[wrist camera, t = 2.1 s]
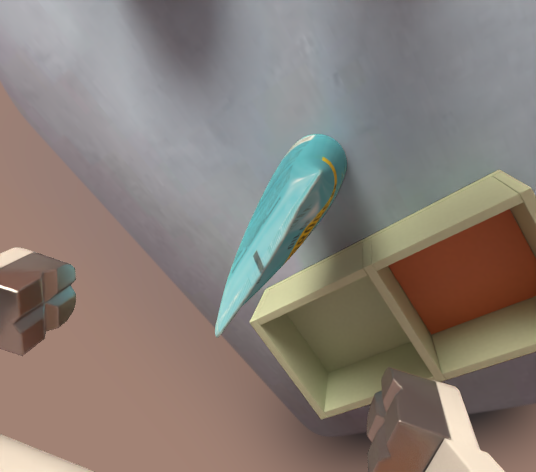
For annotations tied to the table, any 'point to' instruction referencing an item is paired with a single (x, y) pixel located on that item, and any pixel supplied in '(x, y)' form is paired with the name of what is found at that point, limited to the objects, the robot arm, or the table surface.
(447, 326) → the tray
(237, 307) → the tube
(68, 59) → the table surface
